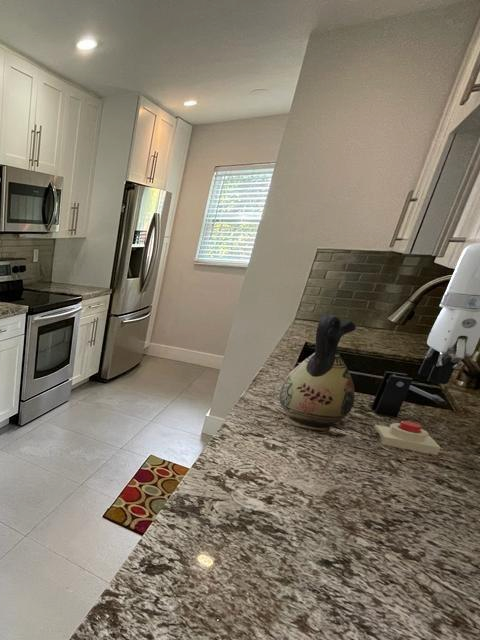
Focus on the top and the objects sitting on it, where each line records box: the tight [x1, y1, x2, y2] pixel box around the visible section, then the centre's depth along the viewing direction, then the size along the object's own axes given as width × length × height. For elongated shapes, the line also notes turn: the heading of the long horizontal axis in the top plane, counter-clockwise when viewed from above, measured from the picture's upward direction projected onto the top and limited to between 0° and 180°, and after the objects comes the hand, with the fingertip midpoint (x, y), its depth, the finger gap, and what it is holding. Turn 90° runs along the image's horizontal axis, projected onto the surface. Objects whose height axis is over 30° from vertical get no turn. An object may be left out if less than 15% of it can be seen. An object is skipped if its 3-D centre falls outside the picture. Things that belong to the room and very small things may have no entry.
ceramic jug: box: [278, 314, 357, 433], centre depth 107 cm, size 17×15×30 cm
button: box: [399, 420, 423, 433], centre depth 101 cm, size 4×4×2 cm
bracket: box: [370, 371, 414, 418], centre depth 115 cm, size 12×10×13 cm
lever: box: [387, 374, 447, 407], centre depth 112 cm, size 12×6×2 cm, turn 60°
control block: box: [373, 422, 442, 456], centre depth 102 cm, size 10×8×4 cm
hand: (432, 378), depth 97 cm, fingers open, 4 cm apart
